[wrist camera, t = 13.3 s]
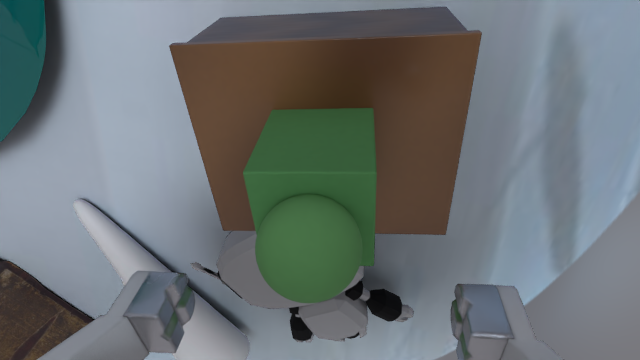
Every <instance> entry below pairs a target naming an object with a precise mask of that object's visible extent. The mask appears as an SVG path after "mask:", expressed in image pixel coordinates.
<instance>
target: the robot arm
mask: <svg viewBox="0 0 640 360" xmlns="http://www.w3.org/2000/svg"><path fill="white" fill-rule="evenodd" d="M188 281H189V280H188V278H187V276H186V274H185V273H171V272H156V271H136V272H135V273H134V274H132V276H131V277H130V279H129V280H128V282H127V283H126V285H125V286H124V288H123V290H122V291H121V293H120V294H119V296H118V297H117V299H116V300H115V302H114V303H113V305H112V306H111V308H110V309H109V311H108V312H107V314H106V315H101V316H99V317H98V318H96V319H95V320H93V321H92V322H91V323H89V324H88V325H86V326H85V327H83V328H82V329H80V330H79V331H78V332H76V333H75V334H73V335H72V336H70V337H69V338H67V339H66V340H64V341H63V342H62V343H60V344H59V345H57V346H56V347H54V348H53V349H51V350H50V351H49V352H47V353H46V354H44V355H43V356H41V357H40V358H38V359H37V360H143V359H145V358H146V357H147V356H148V355H149V352H157V353H176V351H177V349H178V347H179V344H180V342H181V340H182V338H183V335H184V329H183V325H185V324H186V323H187V322H188V321H189V320H190V319H191V317H192V315H193V312H194V308H195V294H194V292H193V290H192V289H191V288H190V287H188V286H187V283H188ZM454 293H455V297H456V300H454V301H453V302H452V306H451V326H452V331H453V335H454V336H455V337H456V339H457V340H458V344H457V348H456V352H457V357H458V360H564V359H563V358H561V357H560V356H559V355H558V354H557V353H556V352H555V351H554V350H553V349H552V348H550V347H549V346H548V345H547V344H546V343H545V342H544V341H538V340H537V339H536V336H535V333H534V331H533V328H532V326H531V323H530V321H529V318H528V316H527V313H526V311H525V308H524V306H523V303H522V301H521V298H520V296H519V293H518V291H517V289H516V288H515V287H514V286H502V285H484V284H457V285H456V287H455V291H454Z"/></svg>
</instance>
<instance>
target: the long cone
mask: <svg viewBox="0 0 640 360" xmlns="http://www.w3.org/2000/svg"><path fill="white" fill-rule="evenodd" d="M73 207H74V210H75V212H76V214H77V216H78V218H79V219H80V221H81V222H82V224H83V226H84V227H85V228H86V230H87V231H88V233H89V234H90V235H91V237H92V238H93V240H94V241H95V242H96V244H97V245H98V247H99V248H100V249H101V251H102V252H103V254H104V255H105V257H106V258H107V259H108V261H109V262H110V264H111V265H112V266H113V268H114V269H115V271H116V272H117V273H118V275H119V276H120V278H121V279H122V280H123V281H122V283H123V285H124V286H125V285H126V283H127V282H128V280H129V279H130V277H131V276H132V274H134V273H135V272H136V271H156V272H171V271H170V270H169V269H168V268H166V267H165V266H164V265H163V264H162V263H161V262H159V261H158V260H157V259H156V258H155V257H154V256H152V255H151V254H150V253H149V252H148V251H147V250H146V249H144V248H143V247H142V246H141V245H140V244H139V243H137V242H136V241H135V240H134V239H133V238H132V237H130V236H129V235H128V234H127V233H126V232H125V231H123V230H122V229H121V228H120V227H119V226H118V225H116V224H115V223H114V222H113V221H112V220H110V219H109V218H108V217H107V216H106V215H104V214H103V213H102V212H101V211H99V210H98V209H97V208H96V207H94V206H93V205H91V204H90V203H88V202H87V201H85V200H82V199H77V200H75V201H74V202H73ZM171 273H172V272H171ZM188 287H189V286H188ZM193 292H194V291H193ZM194 294H195V308H194V312H193V315H192V317H191V319H190V320H189V321H188V322H187V323H186V324H185V325H183V329H184V335H183V338H182V340H181V342H180V344H179V347H178V349H177V351H176V353H172V354H173V356H174V357H175V359H176V360H246V359H247V356H248V354H249V350H250V342H249V339H248V338H247V336H246V335H245V334H244V333H242V332H241V331H240V330H239V329H238V328H237V327H235V326H234V325H233V324H232V323H231V322H230V321H229V320H227V319H226V318H225V317H224V316H222V315H221V314H220V313H219V312H218V311H216V310H215V309H214V308H213V307H212V306H211V305H210V304H208V303H207V302H206V301H205V300H204V299H203V298H201V297H200V296H199V295H198V294H197V293H196V292H194Z"/></svg>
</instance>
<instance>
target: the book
mask: <svg viewBox="0 0 640 360" xmlns="http://www.w3.org/2000/svg"><path fill="white" fill-rule="evenodd" d="M92 321H93V320H92V319H91V318H89V317H87V316H86V315H85V314H83V313H82V312H80V311H78V310H77V309H75V308H73V307H72V306H70V305H69V304H68V303H66V302H65V301H63V300H62V299H60V298H59V297H57V296H56V295H54V294H53V293H51V292H50V291H48V290H47V289H45V288H44V287H43V286H42V285H41V284H40V283H39V282H38V281H37V280H36V279H35V278H33V277H32V276H30V275H29V274H28V273H26V272H25V271H23V270H22V269H20V268H19V267H17V266H16V265H14V264H12V263H11V262H9V261H1V260H0V360H37V359H38V358H40V357H41V356H43V355H44V354H46V353H47V352H49V351H50V350H51V349H53V348H54V347H56V346H57V345H59V344H60V343H62V342H63V341H64V340H66V339H67V338H69V337H70V336H72V335H73V334H75V333H76V332H78V331H79V330H80V329H82V328H83V327H85V326H86V325H88V324H89V323H91V322H92Z"/></svg>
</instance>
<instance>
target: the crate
mask: <svg viewBox="0 0 640 360" xmlns="http://www.w3.org/2000/svg"><path fill="white" fill-rule="evenodd" d="M481 35H482V33H481V32H480V31H479V30H474V31H467V30H466V28H465V27H464V26H463V25H462V24H461V23H460V22H459V21H458V19H457V18H456V17H455V16H454V15H453V14H452V13H451V12H450V10H449V9H448V8H447V7H430V8H410V9H390V10H369V11H349V12H329V13H309V14H288V15H268V16H248V17H228V18H220V19H218V20H217V21H216V22H214V23H213V24H212V25H210V26H209V27H207V28H206V29H205V30H203V31H202V32H201V33H199V34H198V35H196V36H195V37H194V38H192V39H191V40H190V41H188V42H187V43H173V44H171V45H170V46H169V47H170V51H171V54H172V57H173V61H174V64H175V68H176V71H177V74H178V78H179V81H180V85H181V88H182V92H183V95H184V98H185V102H186V105H187V109H188V112H189V115H190V119H191V122H192V126H193V129H194V133H195V136H196V139H197V143H198V146H199V150H200V153H201V156H202V160H203V163H204V167H205V170H206V173H207V177H208V180H209V184H210V187H211V191H212V194H213V197H214V201H215V204H216V208H217V211H218V214H219V218H220V221H221V225H222V228H223V230H224V231H256V230H255V225H254V221H253V216H252V212H251V207H250V203H249V198H248V194H247V189H246V185H245V181H244V176H243V171H244V169H245V167H246V164H247V162H248V160H249V158H250V156H251V154H252V152H253V150H254V147H255V145H256V143H257V141H258V139H259V137H260V135H261V132H262V130H263V128H264V126H265V124H266V122H267V120H268V117H269V115H270V113H271V111H272V110H287V109H341V108H373V110H374V129H375V149H376V169H377V181H376V215H375V233H379V234H432V235H445V234H446V230H447V224H448V219H449V213H450V208H451V202H452V197H453V191H454V185H455V180H456V174H457V169H458V163H459V158H460V152H461V146H462V141H463V135H464V130H465V124H466V119H467V113H468V107H469V102H470V96H471V91H472V85H473V80H474V74H475V68H476V63H477V57H478V52H479V46H480V41H481Z"/></svg>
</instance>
